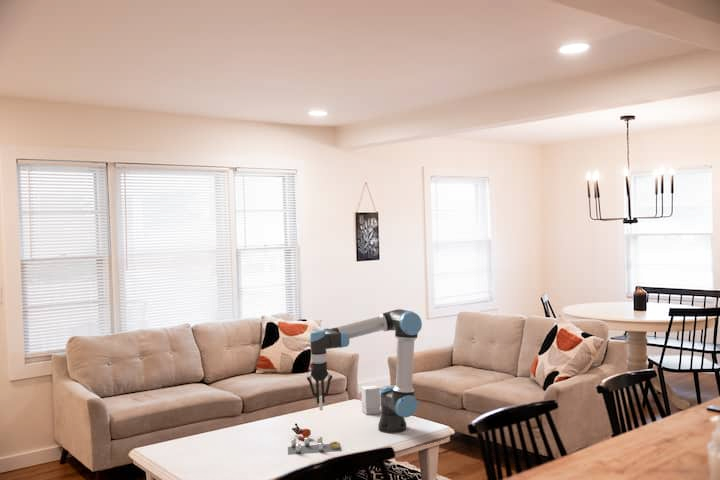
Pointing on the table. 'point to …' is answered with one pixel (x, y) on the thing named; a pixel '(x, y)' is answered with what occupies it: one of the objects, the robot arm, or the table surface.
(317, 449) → the mat
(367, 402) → the supplement box
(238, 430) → the table surface
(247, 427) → the table surface
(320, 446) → the spacer field
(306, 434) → the figurine
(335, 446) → the nut
